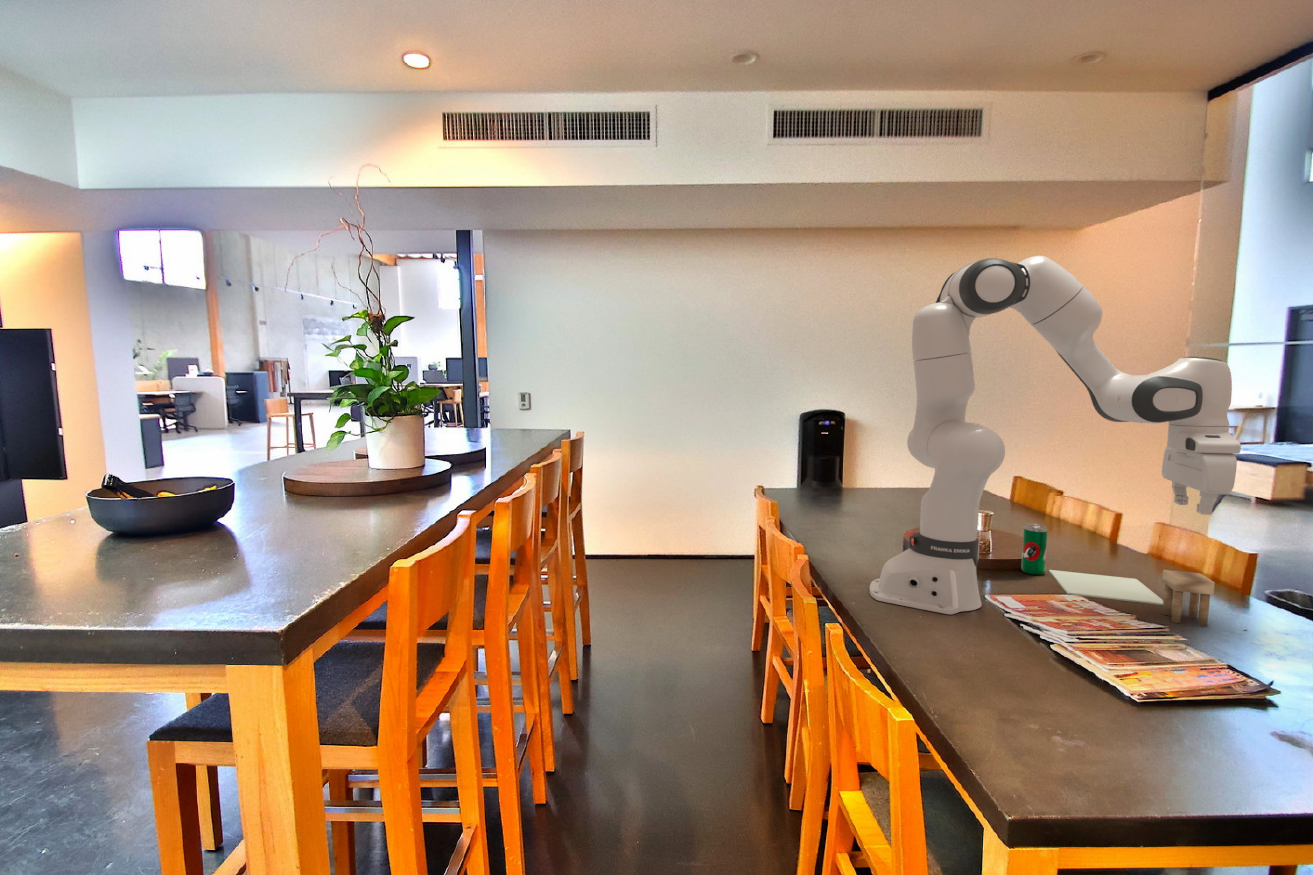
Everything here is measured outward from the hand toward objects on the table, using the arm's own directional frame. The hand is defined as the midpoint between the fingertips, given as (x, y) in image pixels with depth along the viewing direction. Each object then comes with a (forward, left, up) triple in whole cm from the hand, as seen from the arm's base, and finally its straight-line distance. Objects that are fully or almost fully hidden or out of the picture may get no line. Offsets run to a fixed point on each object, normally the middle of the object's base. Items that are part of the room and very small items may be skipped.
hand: (1192, 508), depth 118 cm
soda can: (-22, +22, -23) cm, 39 cm away
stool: (0, -1, -22) cm, 22 cm away
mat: (-9, +16, -22) cm, 29 cm away
